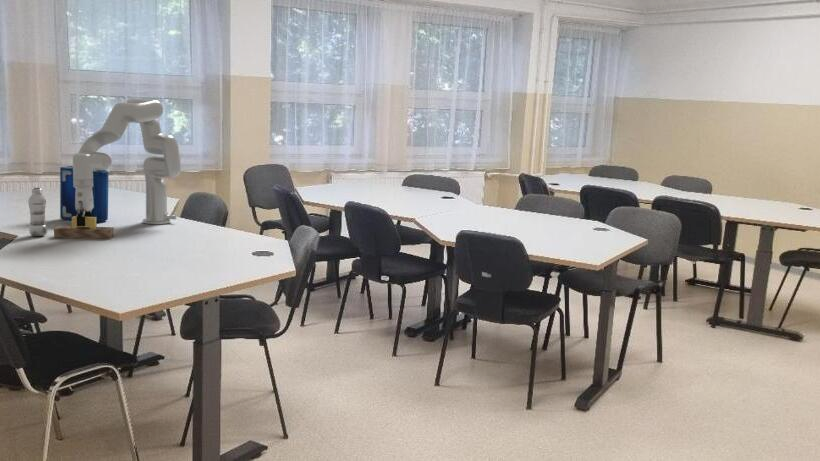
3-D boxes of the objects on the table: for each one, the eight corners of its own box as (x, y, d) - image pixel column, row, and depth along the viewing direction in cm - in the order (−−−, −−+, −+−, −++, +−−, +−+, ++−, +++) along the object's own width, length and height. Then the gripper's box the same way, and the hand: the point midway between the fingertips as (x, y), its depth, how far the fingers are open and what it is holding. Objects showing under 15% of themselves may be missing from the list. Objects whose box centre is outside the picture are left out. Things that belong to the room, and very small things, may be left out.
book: (111, 221, 341) (110, 168, 337) (103, 223, 334) (102, 169, 330) (67, 217, 343) (66, 165, 339) (59, 220, 336) (57, 166, 332)
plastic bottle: (40, 238, 295) (38, 189, 291) (25, 236, 296) (23, 188, 292) (50, 235, 301) (49, 188, 297) (36, 234, 302) (35, 186, 299)
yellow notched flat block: (96, 235, 303) (96, 217, 302) (95, 236, 301) (94, 218, 299) (74, 235, 302) (73, 216, 300) (72, 236, 299) (71, 217, 298)
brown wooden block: (113, 236, 306) (113, 227, 305) (110, 239, 300) (110, 229, 300) (58, 235, 302) (58, 225, 302) (54, 237, 297) (53, 228, 296)
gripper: (87, 186, 290) (88, 228, 293) (98, 181, 307) (99, 220, 310) (67, 185, 288) (68, 227, 291) (79, 180, 305) (80, 220, 308)
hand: (84, 224), depth 301 cm, fingers open, 9 cm apart
